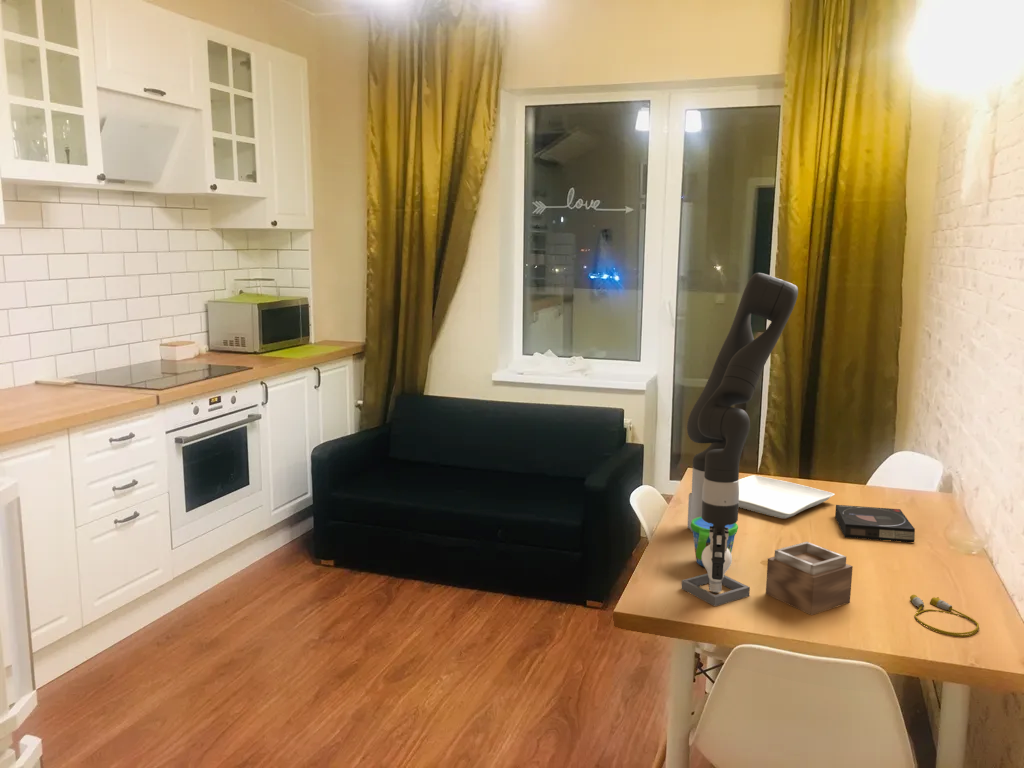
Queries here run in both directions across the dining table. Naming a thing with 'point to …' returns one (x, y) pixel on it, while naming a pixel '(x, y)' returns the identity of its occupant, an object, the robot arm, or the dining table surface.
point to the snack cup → (702, 536)
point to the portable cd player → (874, 523)
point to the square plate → (778, 496)
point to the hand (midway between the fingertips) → (717, 571)
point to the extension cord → (942, 605)
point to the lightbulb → (714, 584)
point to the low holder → (715, 600)
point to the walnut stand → (809, 577)
